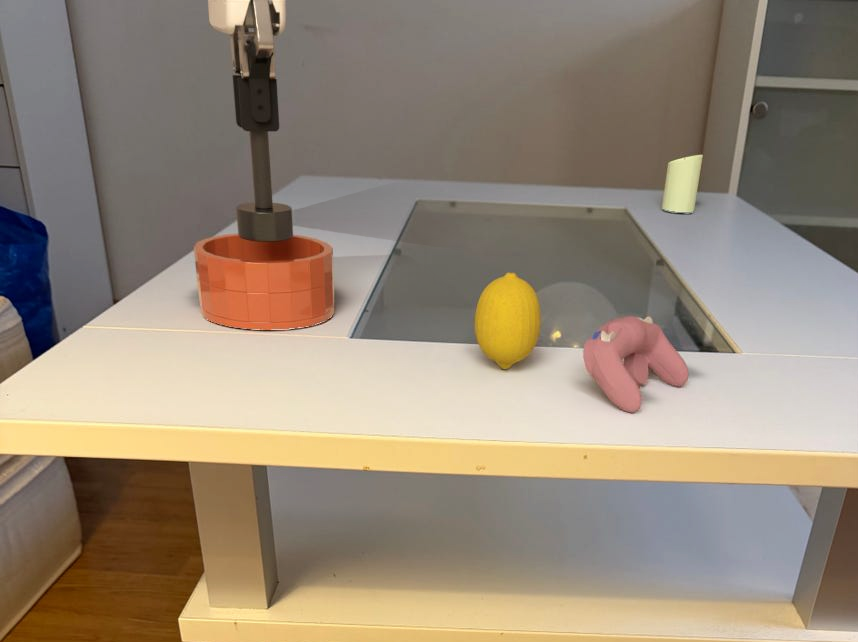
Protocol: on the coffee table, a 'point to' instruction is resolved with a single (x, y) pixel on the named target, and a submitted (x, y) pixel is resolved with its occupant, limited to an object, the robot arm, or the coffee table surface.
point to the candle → (682, 184)
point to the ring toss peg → (263, 200)
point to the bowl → (265, 282)
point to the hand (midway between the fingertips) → (257, 127)
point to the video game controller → (631, 359)
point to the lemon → (507, 320)
